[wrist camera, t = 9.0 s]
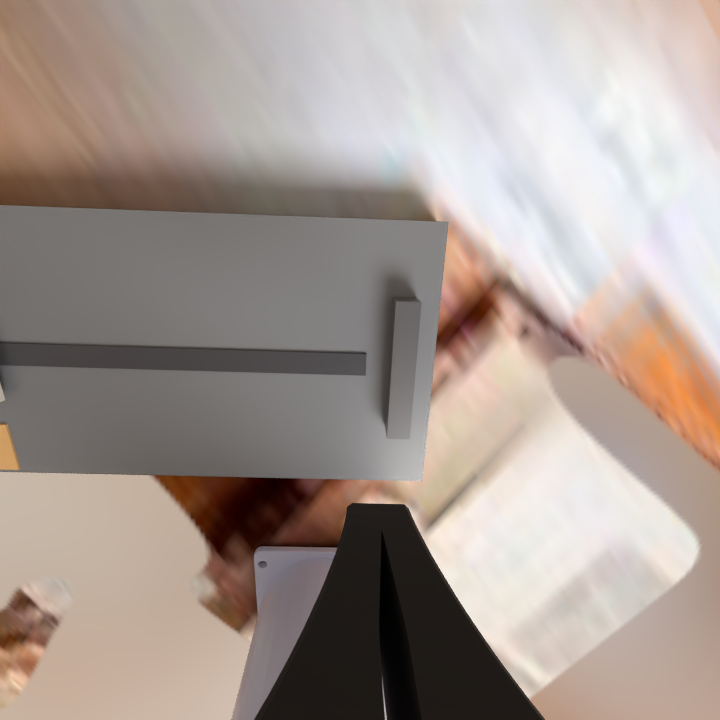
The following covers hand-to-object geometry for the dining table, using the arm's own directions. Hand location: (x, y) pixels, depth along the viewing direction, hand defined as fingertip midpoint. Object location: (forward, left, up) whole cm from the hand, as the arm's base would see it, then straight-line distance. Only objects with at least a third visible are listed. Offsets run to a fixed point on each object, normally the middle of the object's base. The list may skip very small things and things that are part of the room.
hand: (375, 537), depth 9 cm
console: (+1, +11, -10) cm, 15 cm away
